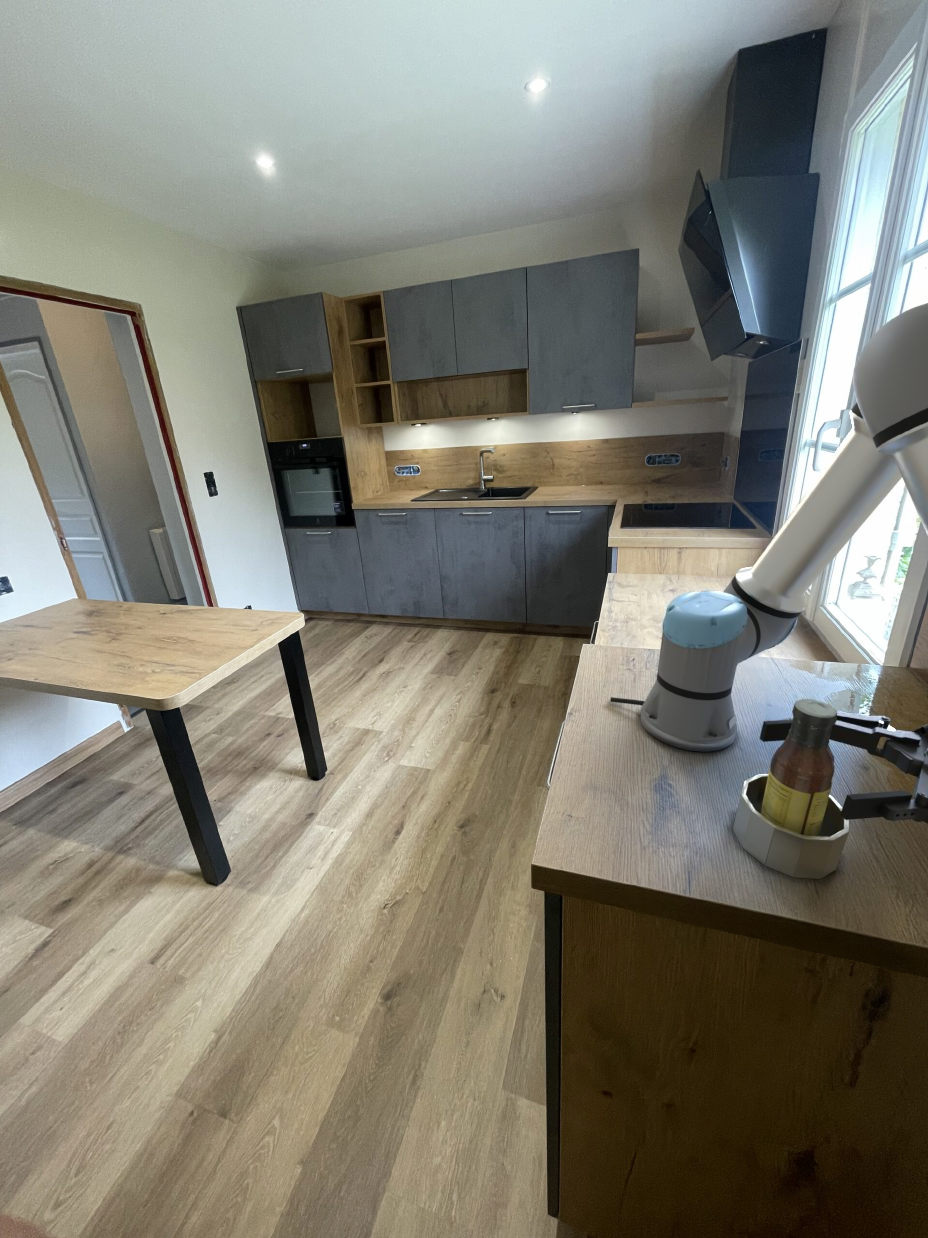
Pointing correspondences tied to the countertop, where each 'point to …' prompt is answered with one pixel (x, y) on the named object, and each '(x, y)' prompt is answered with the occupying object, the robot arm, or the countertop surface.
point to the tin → (789, 836)
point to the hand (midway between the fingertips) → (799, 765)
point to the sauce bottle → (802, 771)
